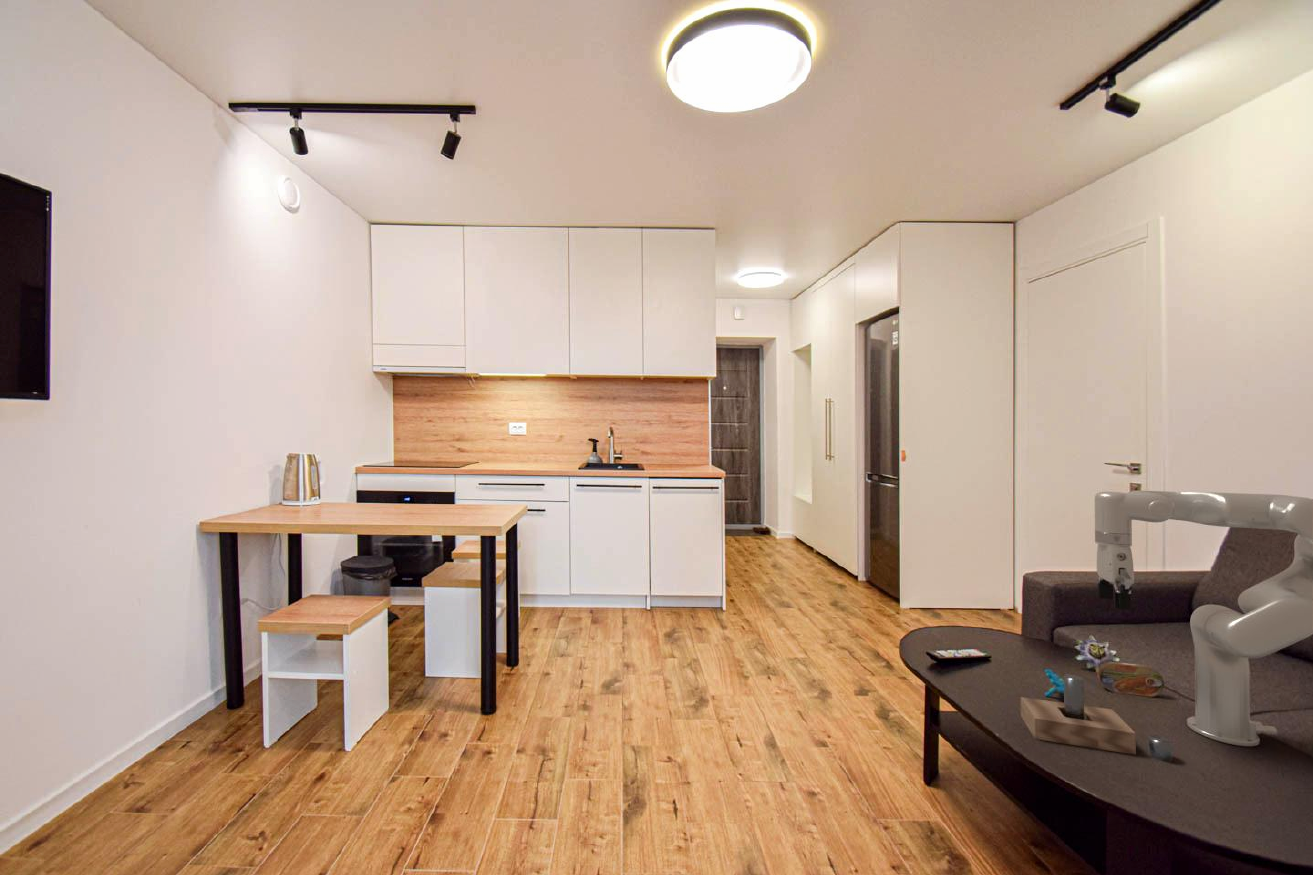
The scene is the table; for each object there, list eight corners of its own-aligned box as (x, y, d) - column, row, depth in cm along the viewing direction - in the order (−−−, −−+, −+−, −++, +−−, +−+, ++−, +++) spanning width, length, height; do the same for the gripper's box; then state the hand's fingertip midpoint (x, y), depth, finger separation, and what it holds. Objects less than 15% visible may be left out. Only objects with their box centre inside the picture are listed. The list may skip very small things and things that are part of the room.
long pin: (1080, 731, 137) (1080, 675, 137) (1087, 739, 134) (1086, 682, 134) (1061, 728, 139) (1061, 673, 139) (1067, 736, 135) (1067, 679, 135)
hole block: (1112, 729, 138) (1112, 709, 138) (1135, 754, 127) (1135, 733, 127) (1020, 715, 145) (1020, 697, 145) (1035, 738, 134) (1034, 718, 134)
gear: (1078, 705, 148) (1047, 670, 153) (1059, 716, 150) (1029, 681, 156) (1081, 696, 156) (1051, 664, 162) (1063, 707, 158) (1034, 675, 164)
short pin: (1166, 753, 127) (1166, 736, 128) (1176, 763, 124) (1176, 745, 124) (1145, 750, 129) (1145, 733, 129) (1154, 759, 125) (1154, 742, 125)
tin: (1099, 690, 160) (1099, 661, 160) (1095, 686, 163) (1095, 657, 163) (1165, 699, 155) (1164, 669, 155) (1159, 694, 158) (1159, 665, 158)
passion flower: (1097, 689, 173) (1075, 658, 173) (1081, 669, 184) (1059, 640, 184) (1134, 673, 170) (1111, 642, 170) (1115, 654, 180) (1093, 625, 180)
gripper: (1147, 545, 135) (1148, 614, 135) (1115, 534, 151) (1116, 596, 151) (1110, 543, 138) (1110, 611, 137) (1082, 532, 154) (1083, 593, 154)
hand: (1113, 603), depth 144 cm, fingers open, 9 cm apart
